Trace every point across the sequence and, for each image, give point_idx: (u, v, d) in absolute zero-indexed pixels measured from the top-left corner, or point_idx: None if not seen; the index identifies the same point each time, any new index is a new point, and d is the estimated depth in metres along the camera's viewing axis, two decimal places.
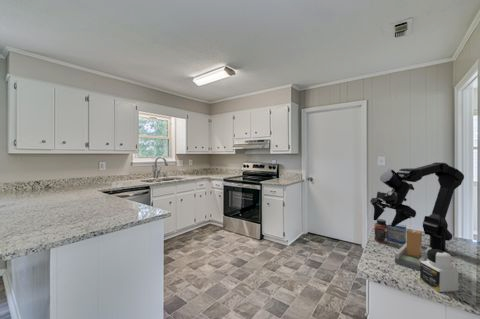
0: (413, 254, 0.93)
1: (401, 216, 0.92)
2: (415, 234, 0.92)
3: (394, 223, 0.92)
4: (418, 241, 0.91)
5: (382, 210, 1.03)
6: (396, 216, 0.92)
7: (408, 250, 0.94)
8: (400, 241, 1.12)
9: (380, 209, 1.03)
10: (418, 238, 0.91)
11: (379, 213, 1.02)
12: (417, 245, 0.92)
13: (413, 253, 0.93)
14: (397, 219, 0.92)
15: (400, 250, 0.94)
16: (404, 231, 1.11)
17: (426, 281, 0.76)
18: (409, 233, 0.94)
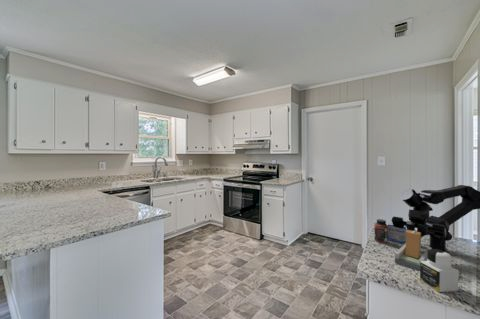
0: (412, 255, 0.92)
1: None
2: (414, 235, 0.91)
3: None
4: (417, 242, 0.90)
5: None
6: None
7: (407, 251, 0.93)
8: (400, 241, 1.12)
9: None
10: (417, 239, 0.90)
11: None
12: (416, 246, 0.91)
13: (412, 254, 0.92)
14: None
15: (400, 250, 0.94)
16: (404, 231, 1.11)
17: (426, 281, 0.76)
18: (408, 234, 0.93)
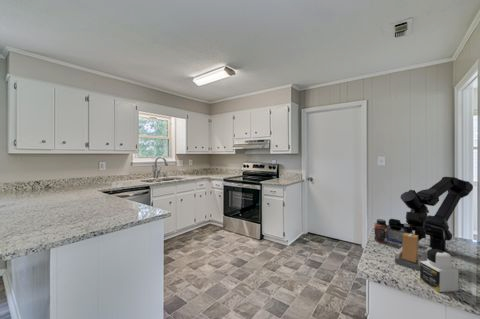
0: (409, 259, 0.88)
1: (418, 236, 0.93)
2: (411, 238, 0.88)
3: None
4: (414, 245, 0.87)
5: None
6: None
7: (404, 255, 0.90)
8: (400, 241, 1.12)
9: None
10: (414, 242, 0.87)
11: None
12: (413, 249, 0.87)
13: (409, 258, 0.88)
14: None
15: (400, 250, 0.94)
16: None
17: (426, 281, 0.76)
18: (405, 237, 0.89)
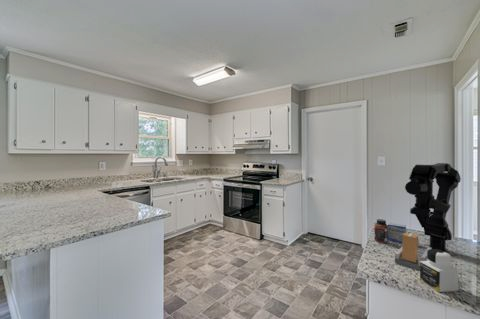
0: (409, 259, 0.88)
1: None
2: (411, 238, 0.88)
3: None
4: (414, 245, 0.87)
5: None
6: (428, 217, 0.97)
7: (404, 255, 0.90)
8: (400, 241, 1.12)
9: None
10: (414, 242, 0.87)
11: None
12: (413, 250, 0.87)
13: (409, 258, 0.88)
14: None
15: (400, 250, 0.94)
16: (404, 231, 1.11)
17: (426, 281, 0.76)
18: (405, 237, 0.89)
